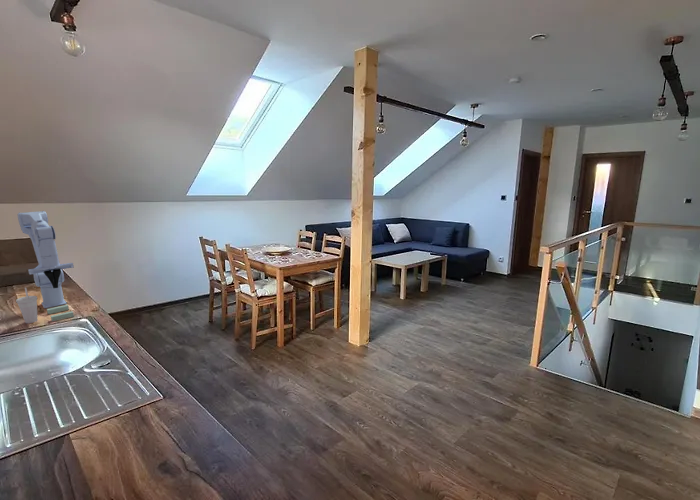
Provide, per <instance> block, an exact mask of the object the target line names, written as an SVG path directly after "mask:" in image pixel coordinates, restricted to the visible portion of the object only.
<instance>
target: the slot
mask: <svg viewBox="0 0 700 500" xmlns="http://www.w3.org/2000/svg"><path fill="white" fill-rule="evenodd" d="M69 310H70V308H69V304H63V305H58V306H53V307H49V308H46V311H47V315H50V319H51V320H50V321H51V322H56V321H60V320H61V321H62V320H64V319H69V318H73V317H75V315H74V312H73V310H71V311H69ZM66 311H67V312H66ZM61 312H63V313H61ZM57 313H58V314H57ZM51 314H53V315H51Z"/></svg>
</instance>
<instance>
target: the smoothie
mask: <svg viewBox="0 0 700 500" xmlns="http://www.w3.org/2000/svg"><path fill="white" fill-rule="evenodd" d="M24 291H25V296H22V297H18V298H17V299H16V300H15V302H16V304H17V305H18V308H19V310H20V312H21V315H22V317H23V320H24V323H25V324H32V323H35V322H38V296H37V295H29V294H28V288H27V287H24Z"/></svg>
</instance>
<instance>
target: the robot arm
mask: <svg viewBox="0 0 700 500" xmlns="http://www.w3.org/2000/svg"><path fill="white" fill-rule="evenodd" d="M48 217H49V216H48V214H47V212H46V210H42V211H41V210H40V211H29V212H18V213H17V220H18V223H19V227H20V229H21V230H20V231H22V233H23V234H25V235H28V237H29V239H30V240H31V242H32V243H31V244H32V246H33V250H34V253H35V256H36V260H37V263H38V265H37V266H36V267H34V268H31V269H27V270H28V274H29V276H30V275H33V280H34V284H35V286H36V287H38V288H39V287H40V293H41V297H42V302H41V305H42V307H43V309H50V308H54V307H59V306H64V305H68V303H67V301H66V300H65V299H64V298H65V297H64V292H63V288H62V285H63V284H62V283H64V281H65V275H64V272H63V270H65V269H73V268H74V263H73V262H69V263H60V259H59V253H58V249H57V244H56V238H57V237H56V235H57V234H56V231H55V228H54V226H53V225H49V219H48Z"/></svg>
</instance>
